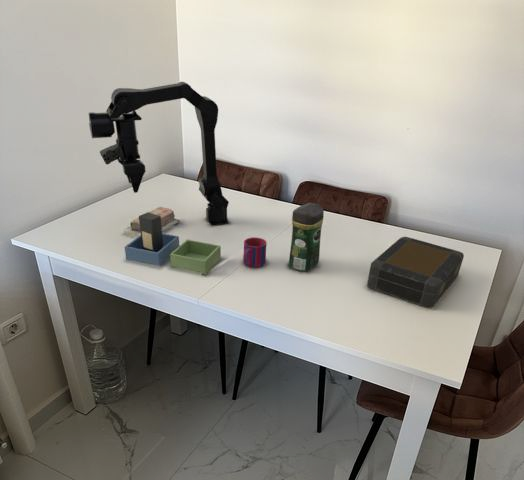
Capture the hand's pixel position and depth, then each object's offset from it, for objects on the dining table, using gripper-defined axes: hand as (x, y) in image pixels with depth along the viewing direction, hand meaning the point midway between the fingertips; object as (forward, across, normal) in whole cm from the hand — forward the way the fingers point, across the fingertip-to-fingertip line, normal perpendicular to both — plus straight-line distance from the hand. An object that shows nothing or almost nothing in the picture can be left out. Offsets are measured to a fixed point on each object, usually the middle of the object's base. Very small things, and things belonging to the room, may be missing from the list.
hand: (133, 187), depth 159 cm
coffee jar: (+15, +40, +43) cm, 60 cm away
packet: (+14, +20, +1) cm, 24 cm away
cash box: (+15, +58, +70) cm, 92 cm away
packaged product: (+15, 0, +5) cm, 15 cm away
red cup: (+15, +35, +28) cm, 47 cm away
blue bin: (+14, +20, +1) cm, 25 cm away
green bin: (+15, +29, +12) cm, 35 cm away
